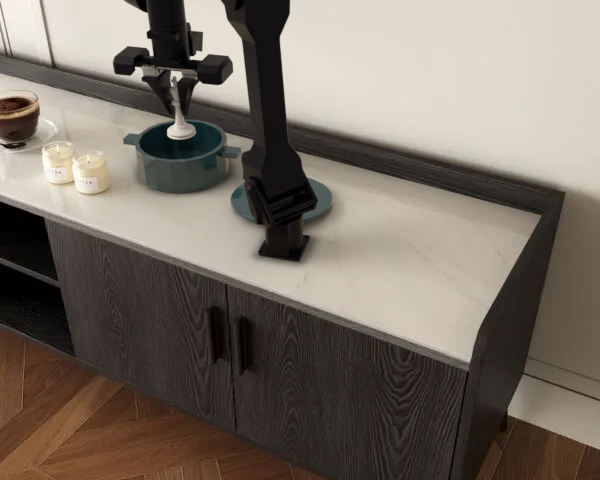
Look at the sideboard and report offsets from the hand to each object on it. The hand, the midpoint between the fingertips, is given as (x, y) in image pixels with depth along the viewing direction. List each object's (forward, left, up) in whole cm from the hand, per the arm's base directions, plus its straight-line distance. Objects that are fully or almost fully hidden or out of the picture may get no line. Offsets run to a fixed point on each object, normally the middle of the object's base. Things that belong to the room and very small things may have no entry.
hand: (178, 114), depth 128 cm
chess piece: (0, 0, -4) cm, 4 cm away
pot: (0, 0, -11) cm, 11 cm away
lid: (-6, -20, -10) cm, 23 cm away
